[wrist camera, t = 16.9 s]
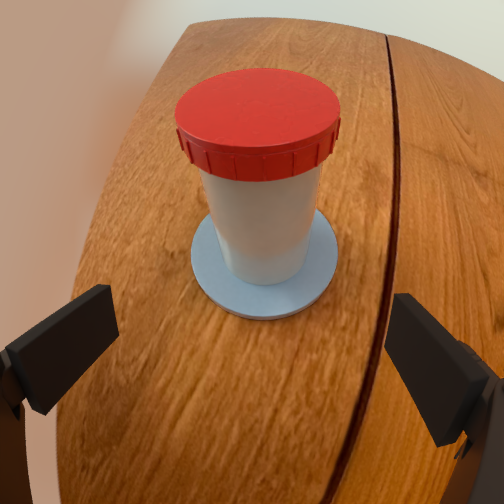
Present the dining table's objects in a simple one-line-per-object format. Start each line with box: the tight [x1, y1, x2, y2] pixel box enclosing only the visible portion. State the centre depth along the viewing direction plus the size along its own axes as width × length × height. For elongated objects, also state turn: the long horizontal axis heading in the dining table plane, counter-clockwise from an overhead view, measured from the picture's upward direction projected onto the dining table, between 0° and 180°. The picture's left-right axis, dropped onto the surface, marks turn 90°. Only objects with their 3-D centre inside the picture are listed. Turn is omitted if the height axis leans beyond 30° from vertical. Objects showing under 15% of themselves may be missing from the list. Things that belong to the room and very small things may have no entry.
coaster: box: [191, 209, 338, 320], centre depth 22 cm, size 11×11×1 cm
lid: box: [175, 68, 341, 182], centre depth 12 cm, size 7×7×2 cm
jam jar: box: [198, 162, 323, 285], centre depth 17 cm, size 6×6×12 cm
